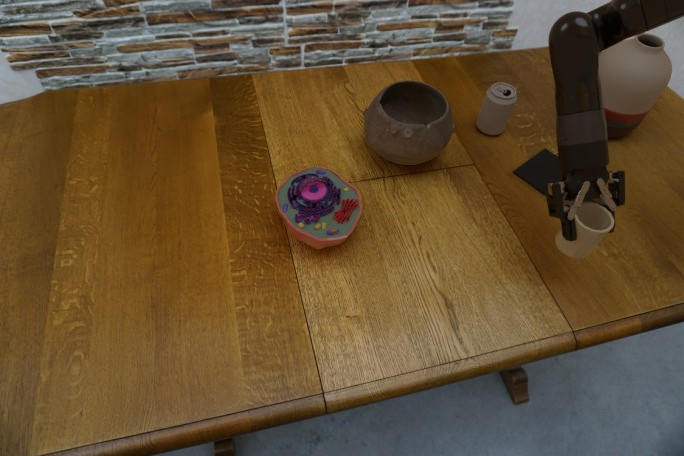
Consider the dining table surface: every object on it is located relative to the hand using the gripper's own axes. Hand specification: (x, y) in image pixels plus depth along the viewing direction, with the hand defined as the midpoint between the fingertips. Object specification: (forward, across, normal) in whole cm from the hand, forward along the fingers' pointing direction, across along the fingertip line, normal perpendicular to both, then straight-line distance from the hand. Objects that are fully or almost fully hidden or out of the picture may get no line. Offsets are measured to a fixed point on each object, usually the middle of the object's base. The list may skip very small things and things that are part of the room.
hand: (589, 236), depth 80 cm
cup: (+2, 0, +4) cm, 5 cm away
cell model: (-6, -42, +29) cm, 52 cm away
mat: (-5, +17, +28) cm, 33 cm away
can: (-21, +9, +44) cm, 50 cm away
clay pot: (-19, -16, +42) cm, 49 cm away
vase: (-18, +40, +41) cm, 60 cm away
